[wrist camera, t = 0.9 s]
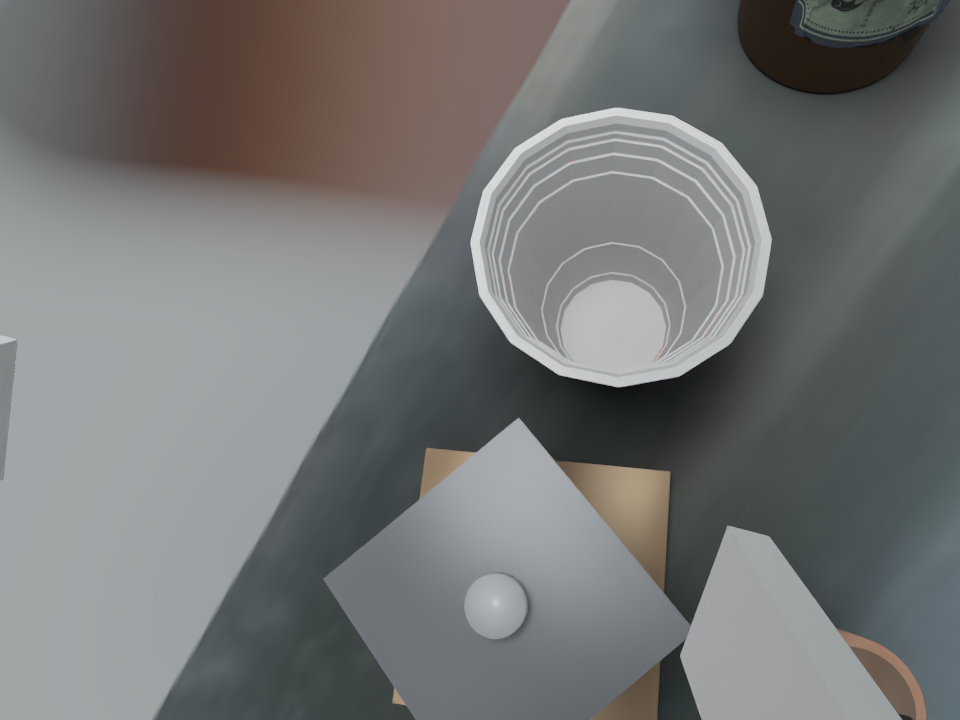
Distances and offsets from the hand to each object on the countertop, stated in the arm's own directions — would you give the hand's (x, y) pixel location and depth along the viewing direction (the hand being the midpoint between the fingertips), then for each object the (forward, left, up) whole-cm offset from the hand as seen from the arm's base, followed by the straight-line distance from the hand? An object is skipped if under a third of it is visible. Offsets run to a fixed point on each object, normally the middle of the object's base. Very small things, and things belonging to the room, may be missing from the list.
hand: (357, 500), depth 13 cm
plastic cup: (-4, -10, -24) cm, 26 cm away
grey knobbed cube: (-1, +3, -23) cm, 23 cm away
